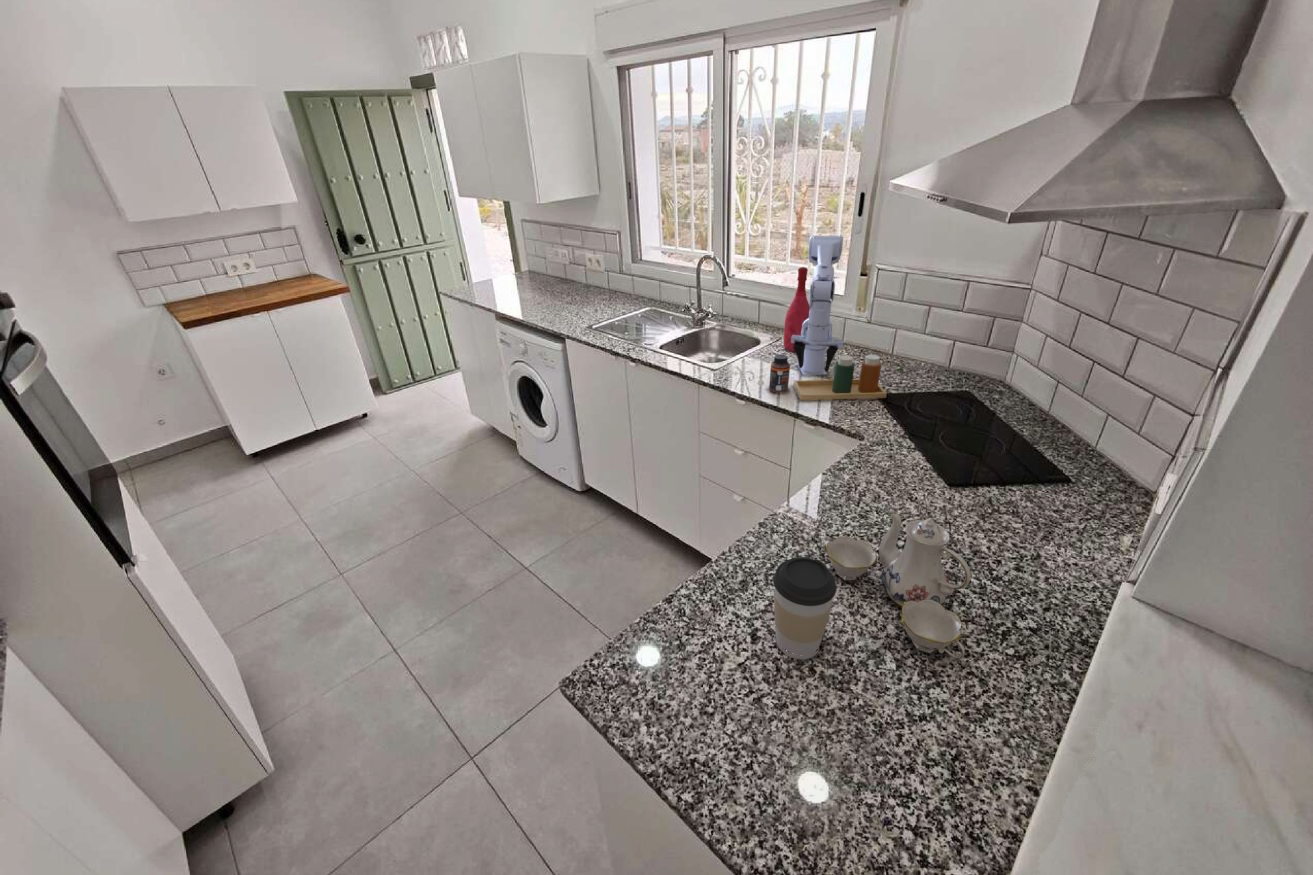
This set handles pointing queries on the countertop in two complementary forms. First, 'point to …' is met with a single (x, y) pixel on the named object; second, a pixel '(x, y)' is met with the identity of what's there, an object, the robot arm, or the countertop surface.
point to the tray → (824, 390)
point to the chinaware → (910, 578)
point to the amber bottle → (870, 374)
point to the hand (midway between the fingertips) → (813, 368)
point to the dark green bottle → (843, 375)
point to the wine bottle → (796, 311)
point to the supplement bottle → (779, 374)
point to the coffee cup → (802, 605)
